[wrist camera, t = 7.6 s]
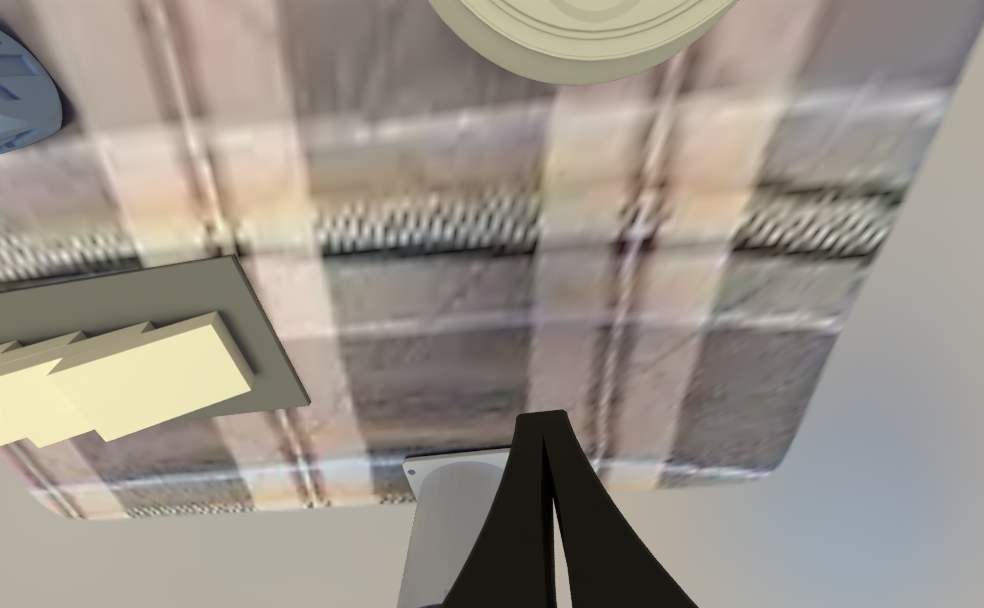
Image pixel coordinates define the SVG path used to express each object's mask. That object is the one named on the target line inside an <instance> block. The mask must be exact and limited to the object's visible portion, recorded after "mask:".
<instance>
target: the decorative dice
mask: <svg viewBox="0 0 984 608" xmlns="http://www.w3.org/2000/svg"><path fill="white" fill-rule="evenodd" d="M61 123H62V105H61V101H60V97H59V94H58V92H57V89H56V87H55V85H54V83H53V81H52V79H51V78H50V76H49V75H48V73H47V72H46V70H45V69H44V68H43V67H42V65H41V64H40V63H39V62H38V61H37V60H36V59H35V58H34V57H33V56H32V55H31V54H30V53H29V52H28V51H27V50H26V49H25V48H24V47H22V46H21V45H20V44H19V43H17V42H16V41H15V40H13V39H12V38H11V37H9V36H8V35H6V34H5V33H3V32H2V31H0V154H2V153H6V152H9V151H12V150H16V149H19V148H21V147H24V146H27V145H30V144H32V143H35V142H37V141H40V140H42V139H44V138H46V137H48V136H50V135H52V134H54V133H55V132H57V131H58V130H59V129H60V128H61Z"/></svg>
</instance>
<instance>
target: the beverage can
mask: <svg viewBox="0 0 984 608" xmlns="http://www.w3.org/2000/svg"><path fill="white" fill-rule="evenodd" d="M428 1H429V3H430V4H431V6H432V7H433V8H434V10H435V11H436V12H437V13H438V14H439V16H440V17H441V18H442V19H443V21H444V22H445V23H446V24H447V25H448V26H449V27H450V28H451V29H452V30H453V31H454V32H455V33H456V34H457V36H459V37H460V38H461V39H462V40H463V41H464V42H465V43H467V44H468V45H469V46H470V47H471V48H473V49H474V50H475V51H477V52H478V53H479V54H481V55H482V56H483V57H485V58H487V59H488V60H490V61H492V62H493V63H495V64H497V65H498V66H500V67H502V68H504V69H506V70H508V71H510V72H512V73H515V74H517V75H520V76H523V77H526V78H529V79H532V80H536V81H540V82H544V83H550V84H560V85H572V86H577V85H590V84H600V83H606V82H611V81H615V80H619V79H622V78H625V77H629V76H632V75H635V74H638V73H640V72H643V71H645V70H647V69H649V68H651V67H654V66H656V65H658V64H659V63H661V62H663V61H665V60H667V59H669V58H670V57H672V56H674V55H675V54H677V53H678V52H680V51H681V50H683V49H685V48H686V47H688V46H689V45H690V44H692V43H693V42H694V41H696V40H697V39H698V38H700V37H701V36H702V35H703V34H705V33H706V32H707V31H708V30H709V29H710V28H711V27H713V26H714V25H715V24H716V23H717V22H718V21H719V20H720V19H721V18H722V17H723V16H724V15H725V14H726V13H727V12H728V11H729V10H730V9H731V8H732V7H733V6H734V5H735V4H736V3H737V2H738V1H739V0H428Z"/></svg>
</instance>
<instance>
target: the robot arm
mask: <svg viewBox="0 0 984 608" xmlns="http://www.w3.org/2000/svg"><path fill="white" fill-rule="evenodd" d="M402 466H403V469H404V472H405V474H406V477H407V479H408V481H409V484H410V486H411V489H412V491H413V493H414V496H415V498H416V501H417V508H416V513H415V518H414V523H413V528H412V533H411V538H410V543H409V548H408V553H407V559H406V564H405V568H404V574H403V579H402V584H401V589H400V594H399V599H398V604H397V608H557V602H556V588H555V560H554V522H553V500H554V505H555V509H556V514H557V519H558V524H559V529H560V533H561V538H562V543H563V548H564V553H565V558H566V562H567V567H568V575H569V584H570V592H571V600H572V608H699V607H698V606H697V605H696V604H695V603H694V602H693V601H692V600H691V599H690V598H689V597H688V595H687V594H686V593H685V592H684V591H683V590H682V589H681V587H680V586H679V585H678V584H677V583H676V582H675V581H674V579H673V578H672V577H671V576H670V575H669V574H668V572H667V571H666V570H665V569H664V568H663V566H661V564H660V563H659V562H658V561H657V560H656V558H655V557H654V556H653V555H652V553H651V552H650V551H649V550H648V548H647V547H646V546H645V544H644V543H643V542H642V541H641V539H640V538H639V537H638V535H637V534H636V533H635V532H634V530H633V529H632V527H631V526H630V525H629V524H628V522H627V521H626V519H625V518H624V516H623V515H622V514H621V512H620V511H619V509H618V508H617V507H616V505H615V504H614V502H613V501H612V499H611V497H610V496H609V494H608V493H607V491H606V490H605V488H604V487H603V485H602V483H601V482H600V480H599V479H598V477H597V475H596V473H595V472H594V470H593V468H592V467H591V465H590V463H589V461H588V460H587V458H586V456H585V454H584V452H583V450H582V448H581V446H580V444H579V442H578V440H577V438H576V436H575V434H574V431H573V429H572V426H571V424H570V421H569V418H568V415H567V412H566V411H564V410H563V409H562V410H553V411H543V412H534V413H525V414H519V415H518V416H517V417H516V425H515V431H514V436H513V441H512V445H511V448H504V449H494V450H484V451H474V452H464V453H454V454H443V455H433V456H423V457H413V458H407V459H405V460H404V462H403V465H402Z"/></svg>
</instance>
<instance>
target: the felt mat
mask: <svg viewBox="0 0 984 608" xmlns="http://www.w3.org/2000/svg"><path fill="white" fill-rule="evenodd" d="M215 311H217V312H218V314H219V315H220V317H221V319H222V321H223V322H224V324H225V326H226V327H227V329H228V331H229V332H230V334H231V336H232V338H233V339H234V341H235V343H236V344H237V346H238V348H239V350H240V351H241V353H242V355H243V356H244V358H245V360H246V361H247V363H248V365H249V367H250V368H251V370H252V372H253V373H254V378H253V383H252V388H251V391H248V392H245V393H242V394H240V395H237V396H234V397H231V398H228V399H226V400H223V401H220V402H217V403H214V404H212V405H209V406H206V407H203V408H200V409H197V410H195V411H192V412H189V413H186V414H183V415H181V416H178V417H175V418H172V419H169V420H167V421H164V422H172V421H181V420H189V419H198V418H207V417H215V416H224V415H233V414H241V413H250V412H259V411H267V410H276V409H285V408H293V407H302V406H309V405H310V403H311V401H310V400H309V398H308V396H307V394H306V392H305V390H304V388H303V386H302V384H301V382H300V380H299V378H298V376H297V375H296V373H295V371H294V369H293V367H292V365H291V363H290V361H289V359H288V357H287V355H286V353H285V351H284V350H283V348H282V346H281V344H280V342H279V340H278V338H277V336H276V334H275V332H274V330H273V328H272V326H271V325H270V323H269V321H268V319H267V317H266V315H265V313H264V311H263V309H262V307H261V305H260V303H259V301H258V300H257V298H256V296H255V294H254V292H253V290H252V288H251V286H250V284H249V282H248V280H247V278H246V276H245V275H244V273H243V271H242V269H241V267H240V265H239V263H238V261H237V259H236V257H235V255H228V256H222V257H216V258H209V259H203V260H197V261H191V262H184V263H178V264H172V265H166V266H160V267H153V268H147V269H141V270H135V271H128V272H122V273H116V274H110V275H103V276H97V277H91V278H85V279H78V280H72V281H66V282H60V283H53V284H47V285H41V286H35V287H28V288H22V289H16V290H10V291H3V292H0V345H1V344H5V343H8V342H12V341H15V340H17V341H18V342H19V343H20V344H21V345H22V346H23V347H26V346H29V345H33V344H36V343H40V342H43V341H47V340H50V339H54V338H57V337H61V336H64V335H67V334H71V333H74V332H78V331H82V332H83V333H84V334H85V336H86V337H87V338H88V339H89V338H93V337H96V336H100V335H103V334H106V333H110V332H113V331H117V330H120V329H124V328H127V327H130V326H134V325H137V324H141V323H144V322H147V321H150V322H151V323H152V325H153V326H154V328H155V329H159V328H162V327H166V326H169V325H172V324H175V323H179V322H182V321H185V320H189V319H192V318H195V317H198V316H202V315H205V314H208V313H211V312H215ZM161 423H163V422H161ZM94 430H95V429H94ZM94 430H91V431H94Z"/></svg>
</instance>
